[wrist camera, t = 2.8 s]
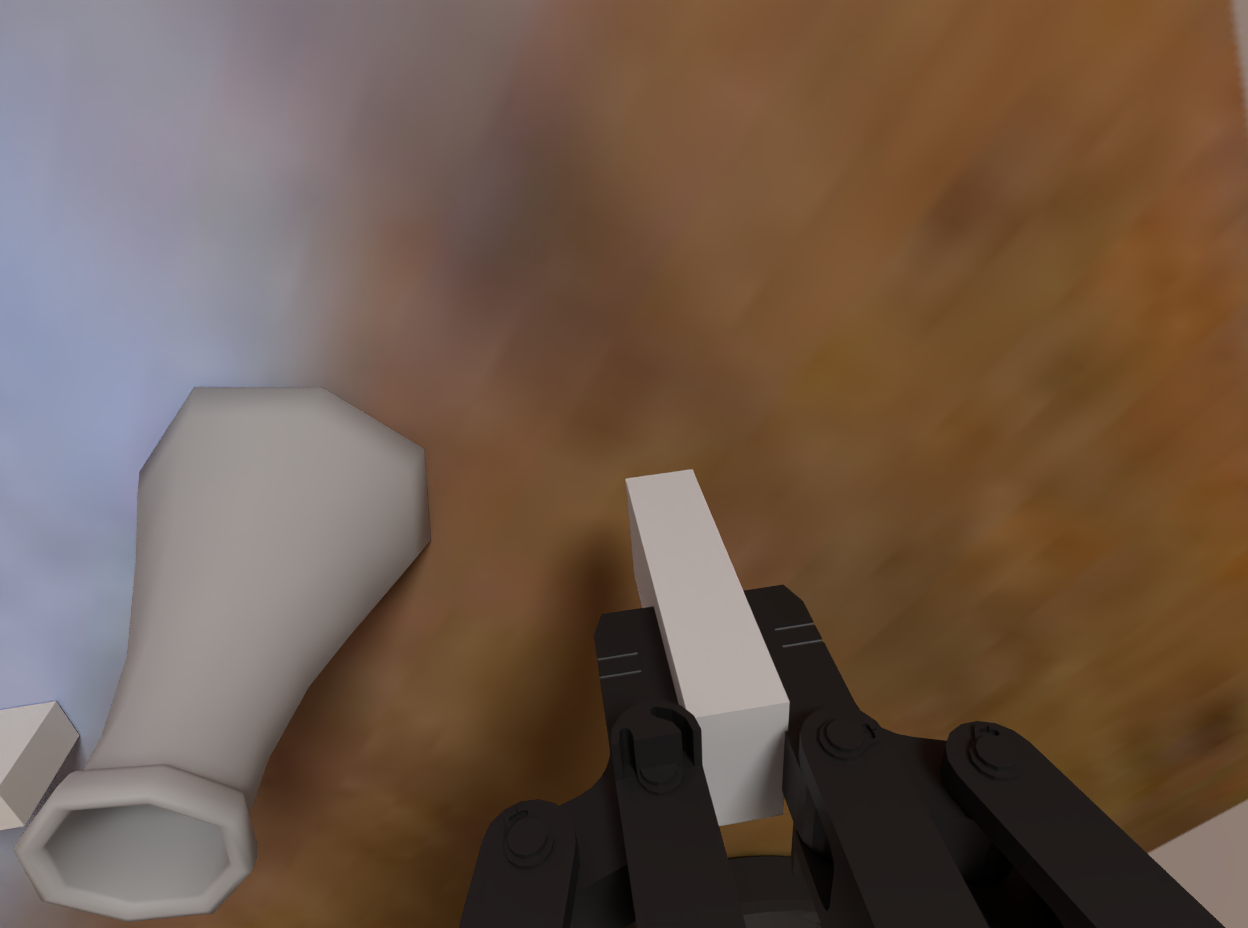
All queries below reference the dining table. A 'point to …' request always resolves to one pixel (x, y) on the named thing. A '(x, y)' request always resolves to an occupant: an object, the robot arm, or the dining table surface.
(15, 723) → the white u-shaped stand
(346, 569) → the flask
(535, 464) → the dining table surface
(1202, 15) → the dining table surface
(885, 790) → the robot arm
